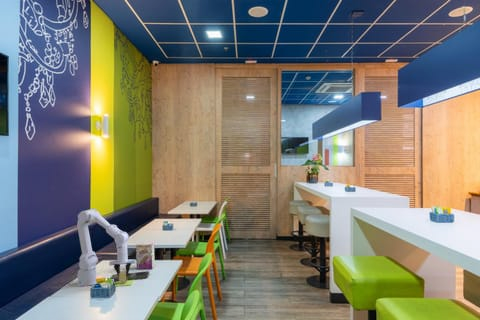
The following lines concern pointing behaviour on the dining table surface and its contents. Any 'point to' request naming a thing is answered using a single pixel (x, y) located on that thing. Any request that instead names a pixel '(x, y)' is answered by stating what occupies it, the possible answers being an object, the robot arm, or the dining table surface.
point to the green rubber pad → (124, 283)
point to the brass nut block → (122, 277)
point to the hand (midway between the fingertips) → (123, 276)
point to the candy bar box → (145, 256)
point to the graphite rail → (132, 276)
